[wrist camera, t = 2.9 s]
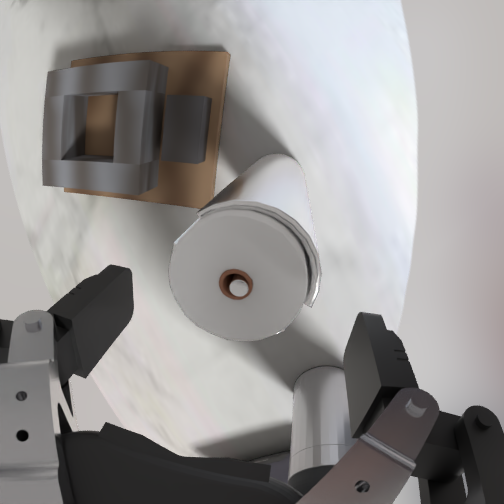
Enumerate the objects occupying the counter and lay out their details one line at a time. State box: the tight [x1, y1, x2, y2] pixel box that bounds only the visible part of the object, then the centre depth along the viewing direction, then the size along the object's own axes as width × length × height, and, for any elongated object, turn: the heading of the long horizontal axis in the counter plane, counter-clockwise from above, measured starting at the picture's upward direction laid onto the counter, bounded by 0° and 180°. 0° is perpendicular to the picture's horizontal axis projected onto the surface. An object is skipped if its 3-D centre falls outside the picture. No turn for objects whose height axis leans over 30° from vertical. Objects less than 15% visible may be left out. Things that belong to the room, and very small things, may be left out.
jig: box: [42, 51, 230, 209], centre depth 32 cm, size 21×18×6 cm
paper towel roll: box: [168, 154, 322, 341], centre depth 24 cm, size 6×6×25 cm
